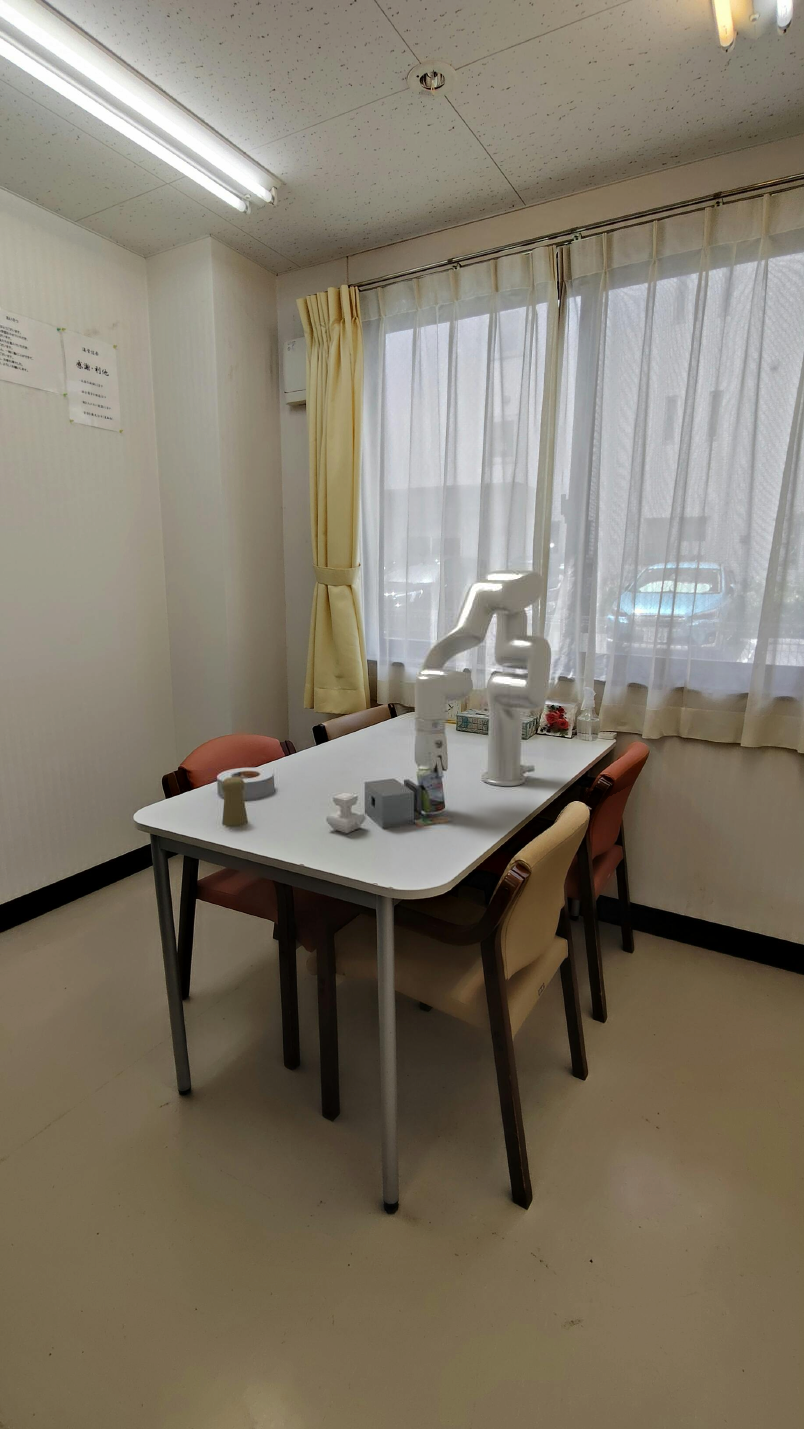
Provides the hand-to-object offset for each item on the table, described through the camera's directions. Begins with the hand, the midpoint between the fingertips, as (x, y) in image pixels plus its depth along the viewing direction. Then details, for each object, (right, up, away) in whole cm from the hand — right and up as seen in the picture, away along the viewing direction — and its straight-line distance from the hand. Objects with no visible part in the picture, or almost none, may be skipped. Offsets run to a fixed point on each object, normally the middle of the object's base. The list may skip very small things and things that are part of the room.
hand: (429, 795), depth 164 cm
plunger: (-7, -4, -4) cm, 9 cm away
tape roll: (-50, -1, +17) cm, 53 cm away
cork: (-47, -6, -7) cm, 48 cm away
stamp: (-20, -7, -11) cm, 24 cm away
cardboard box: (+1, -6, -6) cm, 8 cm away
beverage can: (0, -4, -2) cm, 4 cm away
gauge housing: (-10, -5, -4) cm, 12 cm away
